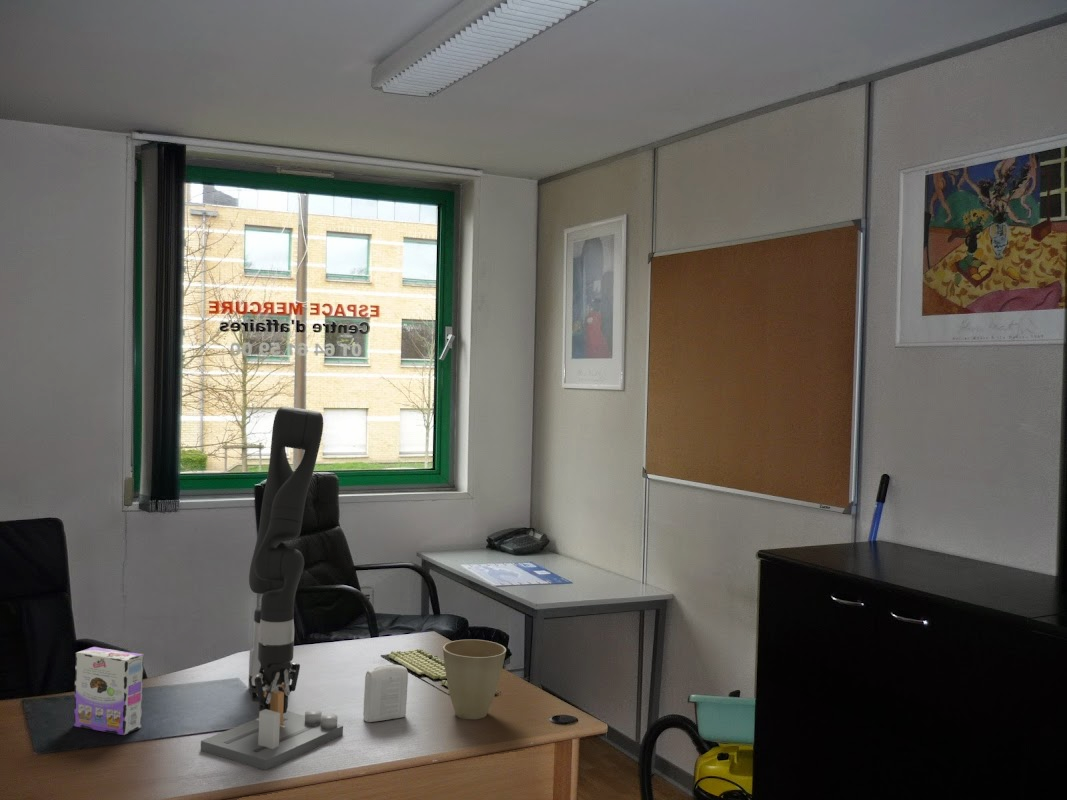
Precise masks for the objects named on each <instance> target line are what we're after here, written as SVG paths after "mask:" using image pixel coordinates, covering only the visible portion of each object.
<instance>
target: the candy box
mask: <svg viewBox="0 0 1067 800" xmlns="http://www.w3.org/2000/svg"><path fill="white" fill-rule="evenodd" d="M74 663H75V665H74V666H75V667H74V668H75V671H74V674H75V675H74V711H73V712H74V713H73V719H74V720H73V726H74V727H76V728H83V729H88V730H94V731H100V732H105V733H110V734H115V735H120V736H121V735H122V736H125V735H127V734H130V733H131V732H134V731H136V730H139V729H140V728H142V714H143V713H142V712H143V711H142V710H143V709H142V708H143V707H142V706H143V682H144V681H143V678H144V653H136V652H130V651H123V650H122V651H121V650H118V649H111V648H110V649H109V648H105V647H100V646H99V647H98V646H92V647H89V648H86V649H83V650H80V651H77V652H75V661H74Z"/></svg>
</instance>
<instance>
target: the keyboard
mask: <svg viewBox="0 0 1067 800" xmlns="http://www.w3.org/2000/svg"><path fill="white" fill-rule="evenodd" d="M380 656H381V657H382V658H384V659H385V660H387V661H389V662H391V663H392V664H393V665H401V666H404V667H405V668H406V669H407V672H408V674H411V675H413V676H415V677H417V678H418V679H420V680H422V682H425V683H427V684H428V685H431V686H432V687H434V688H436V689H437V690H439V691H441V692H442V693H444V694H446V695H447V696H449V695H450V693H449V690H448V693H447V692H446V691H444V690H443V689H440V688H439V687H437V686H435V685H434V684H432V683H430V682H428V681H427V680H425V679H423V678H422V677H427V676H428V679H430V680H432V681H434V680H435V681H439V680H440V681H441V682H440V684H441V685H442V686H443V687H445V688H447V689H448V684H447V680H446V679H447V678H446V672H445V664H444V659H441V658H439V657H438V655H434V654H432V653H429V652H428V651H426V650H424V649H422V648H418V649H417V648H416V649H415V650H414V649H409V650H405V651H401V650H397V651H394V650H392V651H390V653H389V654H380ZM497 690H498V688H497V689H496V692H495V695H494V696H496V694H497V693H498V691H497ZM500 692H501V693H502V690H501V689H499V693H498V695H499V694H500Z"/></svg>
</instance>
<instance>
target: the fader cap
mask: <svg viewBox="0 0 1067 800" xmlns="http://www.w3.org/2000/svg"><path fill="white" fill-rule="evenodd" d="M266 694H267V692H265V694H264V697H266ZM269 703H270V710H271V711H274V712H278V713H280V725H281V724H283V706H284V692H281V691H277V690H275V691H274V693H272V695H271V699H270V702H269Z"/></svg>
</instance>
